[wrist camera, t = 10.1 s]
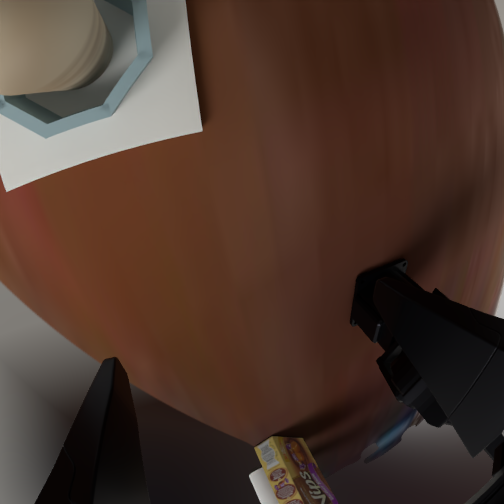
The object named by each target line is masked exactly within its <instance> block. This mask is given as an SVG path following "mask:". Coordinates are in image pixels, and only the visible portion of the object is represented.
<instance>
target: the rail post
mask: <svg viewBox="0 0 504 504" xmlns="http://www.w3.org/2000/svg"><path fill="white" fill-rule="evenodd" d="M112 54H113V40H112V37H111V34H110V32H109V30H108V28H107V26H106V24H105V22H104V20H103V18H102V16H101V15H100V13H99V11H98V9H97V7H96V5H95V3H94V1H93V0H0V95H8V96H13V95H22V94H31V93H40V92H52V91H66V90H77V89H81V88H83V87H86V86H88V85H90V84H91V83H93V82H94V81H96V80H97V79H98V78H99V77H100V76H101V75H102V74H103V73H104V71H105V70H106V69H107V67H108V65H109V63H110V61H111V58H112Z"/></svg>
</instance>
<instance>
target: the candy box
mask: <svg viewBox="0 0 504 504" xmlns="http://www.w3.org/2000/svg"><path fill="white" fill-rule="evenodd" d="M254 448H255V451H256V453H257V455H258V458H259V460H260V462H261V465H262V467H263V469H264V471H265V474H266V476H267V478H268V481H269V483H270V485H271V487H272V489H273V492H274V494H275V496H276V498H277V500H278V502H279V504H338V502H337V500H336V498H335V497H334V495H333V493H332V492H331V489H330V487H329V486H328V484H327V482H326V480H325V478H324V477H323V475H322V473H321V471H320V469H319V468H318V466H317V464H316V462H315V460H314V458H313V457H312V455H311V453H310V451H309V449H308V447H307V445H306V444H305V442H304V440H303V438H292V437H278V436H271V437H270V438H268V439H267V440H265V441H263V442H262V443H260V444H259V445H257V446H256V447H254Z"/></svg>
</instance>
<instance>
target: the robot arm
mask: <svg viewBox="0 0 504 504" xmlns="http://www.w3.org/2000/svg"><path fill="white" fill-rule="evenodd" d="M407 264H408V261H407V260H406V259H404V258H403V259H401V260H398V261H396V262H393V263H391V264H388V265H386V266H383V267H380V268H378V269H375V270H373V271H370V272H368V273H365V274H362V275H360V276H359V277H358V278H357V279H356V284H355V292H354V298H353V305H352V311H351V318H350V324H351V325H352V326H356V325H358V326H359V327H360V328H361V329H362V330H363V332H364V333H365V334H366V335H367V336H368V337H369V339H370V340H371V341H372V342H374V343H376V342H378V343H379V345H380V346H381V347H382V348H383V349H384V350H385V353H384V354H383V355H382V356H380V357H379V358H378V359H377V360H376V362H377V364H378V365H379V369H380V370H381V372H382V374H383V376H384V377H385V379H386V381H387V383H388V385H389V386H390V388H391V390H392V392H393V394H394V395H395V397H396V399H397V400H398V401H399V402H403V403H404V404H406V405H407V406H409V407H410V408H416V409H417V411H418V412H419V413H420V414H421V415H422V417H423V418H424V419H425V420H426V422H427V423H429V424H430V425H432V426H435V427H441V426H442V425H444V424H447V425H452V426H453V427H454V429H455V430H456V432H457V434H458V435H459V437H460V438H461V440H462V442H463V443H464V445H465V447H466V449H467V450H468V452H469V453H470V455H471V456H472V458H474V457H475V456H476V455H477V454H479V453H480V452H481V451H482V450H483V449H484V450H485V452H486V453H487V454H488V455H489V456H490V457H491V458H492V460H493V461H494V463H493V471H492V476H493V478H492V479H491V480H490V481H489V482H488V483H487V484H486V485H485V486H484V487H483V488H482V489H481V490H479V491H478V492H477V493H476V494H475V495H474V496H473V497H472V498H471V499H469V500H468V501H467V502H466V503H465V504H504V319H502V318H498V317H495V316H492V315H489V314H486V313H483V312H481V311H478V310H475V309H473V308H469V307H467V306H465V305H462V304H459V303H457V302H454V301H451V300H450V299H449V298H447V297H446V296H445V295H444V294H443V293H441V292H440V291H439V290H438V289H437V288H435V289H434V291H433V292H432V293H430V292H427V291H425V290H424V289H422V288H421V287H420V286H419V285H418V284H417V283H415V282H414V281H413V280H412V279H411V278H410V277H408V276H407V275H406V274H405V273H406V269H407ZM63 445H64V447H62V449H61V451H60V453H59V456H58V458H57V460H56V463H55V464H54V467H53V469H52V471H51V473H50V475H49V477H48V479H47V481H46V483H45V485H44V486H43V489H42V490H41V492H40V494H39V496H38V498H37V500H36V502H35V504H150V500H149V494H148V490H147V484H146V478H145V472H144V466H143V461H142V454H141V446H140V439H139V431H138V423H137V417H136V413H135V408H134V404H133V399H132V394H131V389H130V384H129V379H128V376H127V373H126V371H125V370H124V368H123V366H122V365H121V363H120V361H119V360H118V358H117V357H112V358H107V359H105V360H104V361H103V362H102V364H101V366H100V369H99V370H98V372H97V374H96V376H95V378H94V380H93V382H92V384H91V386H90V388H89V390H88V392H87V395H86V396H85V398H84V400H83V403H82V405H81V407H80V409H79V411H78V413H77V416H76V418H75V420H74V422H73V424H72V426H71V428H70V431H69V433H68V435H67V437H66V440H65V442H64V444H63Z"/></svg>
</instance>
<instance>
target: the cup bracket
mask: <svg viewBox="0 0 504 504" xmlns="http://www.w3.org/2000/svg"><path fill="white" fill-rule="evenodd" d="M93 1H94V3H95V5H96V7H97V9H98V11H99V13H100V15H101V16H102V18H103V20H104V22H105V24H106V26H107V28H108V30H109V32H110V34H111V37H112V40H113V54H112V58H111V61H110V63H109V65H108V67H107V69H106V70H105V71H104V73H103V74H102V75H101V76H100V77H99V78H98V79H97V80H96V81H94V82H93V83H91V84H90V85H88V86H86V87H83V88H81V89H77V90H66V91H52V92H40V93H31V94H22V95H13V96H8V95H0V174H1V177H2V180H3V183H4V186H5V189H6V192H8V191H10V190H12V189H15V188H17V187H19V186H22V185H24V184H27V183H29V182H31V181H34V180H36V179H39V178H42V177H44V176H47V175H49V174H52V173H55V172H58V171H60V170H63V169H66V168H69V167H72V166H75V165H78V164H81V163H84V162H87V161H90V160H93V159H96V158H99V157H102V156H106V155H109V154H112V153H116V152H119V151H123V150H126V149H130V148H133V147H137V146H141V145H145V144H149V143H152V142H156V141H161V140H165V139H169V138H173V137H178V136H182V135H187V134H191V133H196V132H201V131H202V124H201V117H200V110H199V103H198V96H197V89H196V81H195V74H194V67H193V59H192V51H191V43H190V35H189V27H188V18H187V10H186V1H185V0H93Z"/></svg>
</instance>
